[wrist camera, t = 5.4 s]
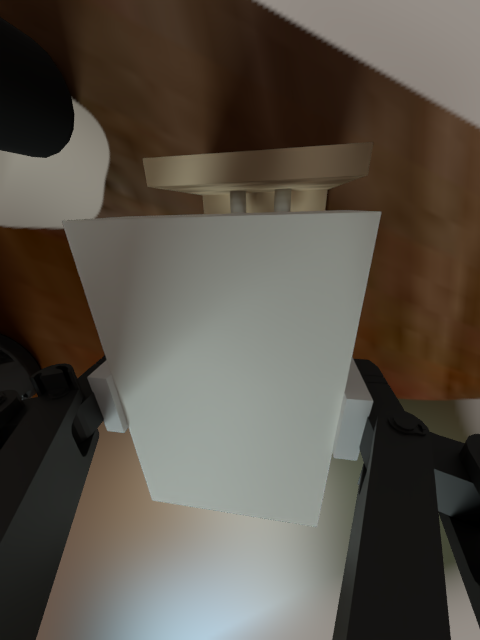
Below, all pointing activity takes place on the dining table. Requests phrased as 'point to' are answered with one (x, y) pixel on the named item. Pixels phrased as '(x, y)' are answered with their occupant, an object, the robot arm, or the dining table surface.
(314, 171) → the shelf bay
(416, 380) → the dining table surface
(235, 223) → the white flat block
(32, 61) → the coffee jar
